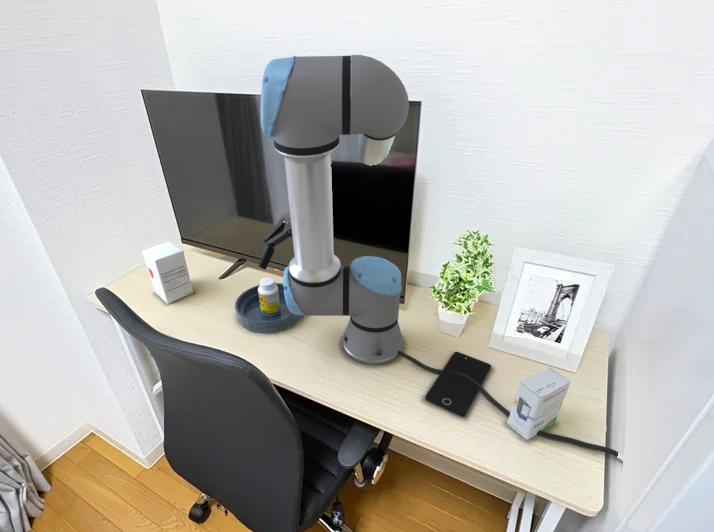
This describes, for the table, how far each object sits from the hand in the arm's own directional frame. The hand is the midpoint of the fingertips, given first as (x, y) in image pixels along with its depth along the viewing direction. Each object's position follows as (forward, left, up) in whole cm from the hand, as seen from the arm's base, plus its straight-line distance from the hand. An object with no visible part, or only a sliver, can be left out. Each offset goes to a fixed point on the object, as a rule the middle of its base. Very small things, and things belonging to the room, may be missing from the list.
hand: (279, 275), depth 116 cm
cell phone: (-54, 0, -10) cm, 55 cm away
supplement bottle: (0, +5, -10) cm, 11 cm away
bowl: (0, +5, -10) cm, 11 cm away
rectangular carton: (+32, +15, -10) cm, 37 cm away
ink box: (-70, +2, -10) cm, 71 cm away
